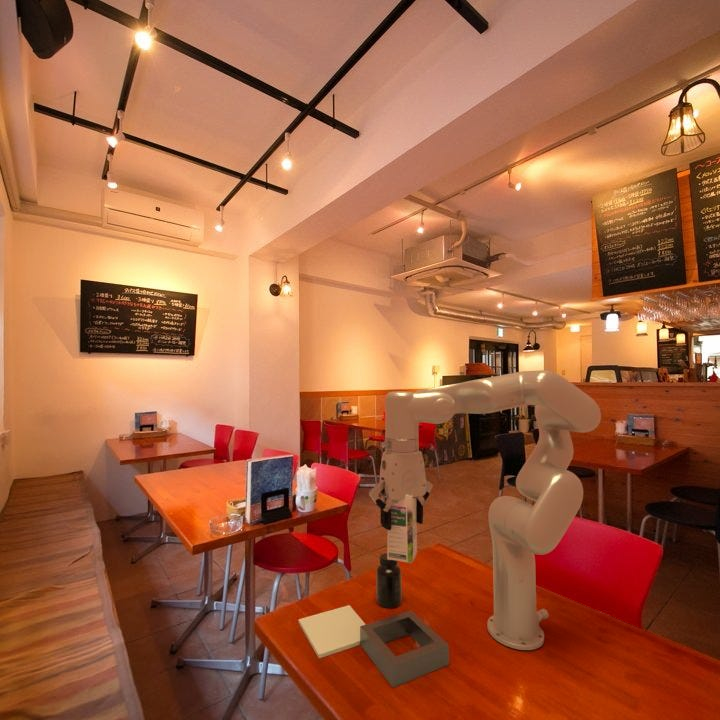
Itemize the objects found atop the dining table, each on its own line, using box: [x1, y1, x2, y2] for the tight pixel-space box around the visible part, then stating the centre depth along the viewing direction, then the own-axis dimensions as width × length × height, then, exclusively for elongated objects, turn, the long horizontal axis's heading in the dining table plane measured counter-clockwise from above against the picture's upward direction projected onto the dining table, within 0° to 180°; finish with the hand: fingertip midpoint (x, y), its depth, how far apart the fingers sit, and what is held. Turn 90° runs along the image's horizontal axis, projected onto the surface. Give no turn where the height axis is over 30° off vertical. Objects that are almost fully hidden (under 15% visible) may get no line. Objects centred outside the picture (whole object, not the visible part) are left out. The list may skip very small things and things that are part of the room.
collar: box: [359, 610, 450, 688], centre depth 85 cm, size 14×14×4 cm
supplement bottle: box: [375, 552, 403, 609], centre depth 105 cm, size 7×7×12 cm
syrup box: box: [386, 493, 418, 564], centre depth 86 cm, size 6×6×14 cm
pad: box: [298, 604, 367, 659], centre depth 92 cm, size 14×14×1 cm
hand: (402, 524), depth 86 cm, fingers closed on syrup box, 7 cm apart
